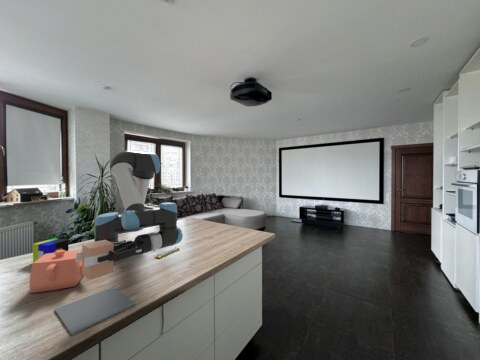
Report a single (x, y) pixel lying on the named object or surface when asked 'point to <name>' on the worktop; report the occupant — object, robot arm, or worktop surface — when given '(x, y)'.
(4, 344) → the worktop surface
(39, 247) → the puzzle toy
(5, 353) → the worktop surface
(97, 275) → the block
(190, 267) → the worktop surface
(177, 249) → the candy bar
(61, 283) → the teapot
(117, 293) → the mat
